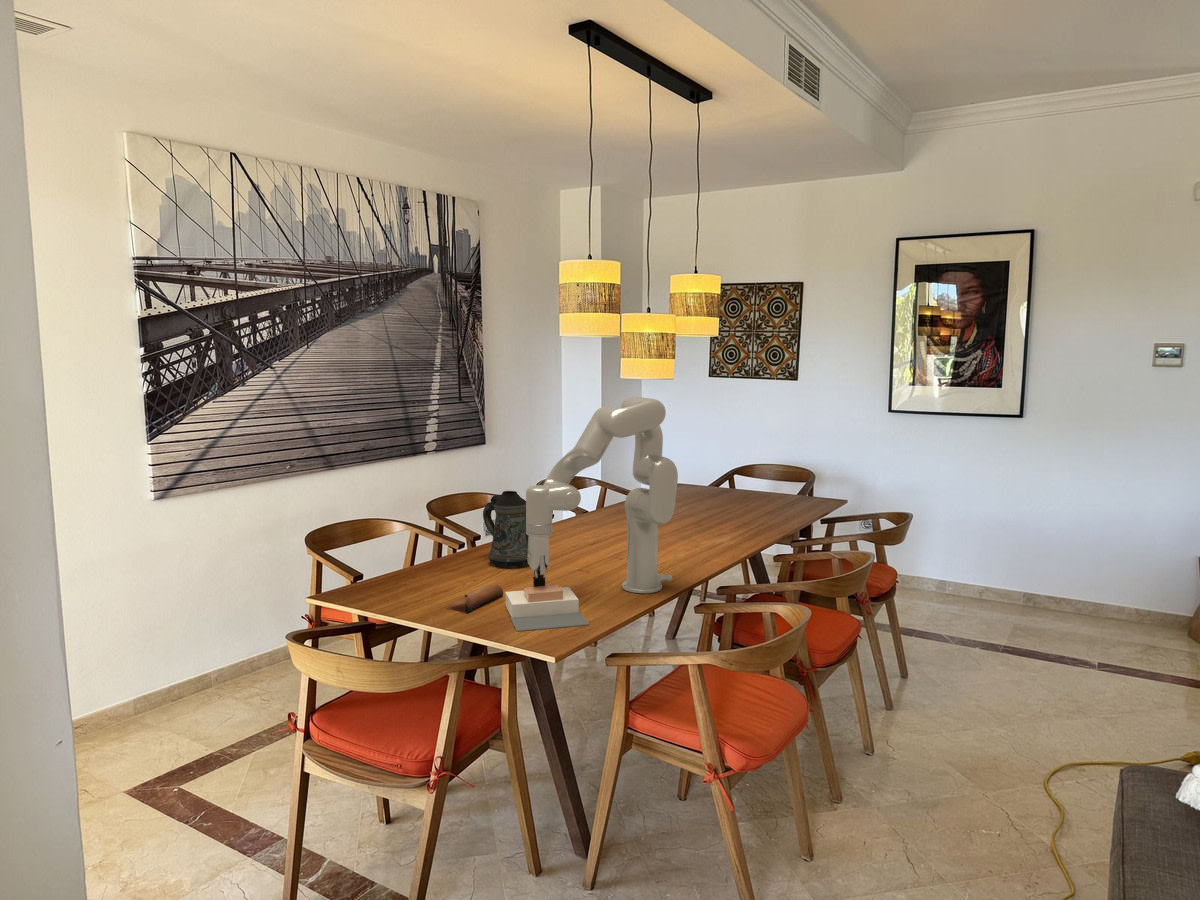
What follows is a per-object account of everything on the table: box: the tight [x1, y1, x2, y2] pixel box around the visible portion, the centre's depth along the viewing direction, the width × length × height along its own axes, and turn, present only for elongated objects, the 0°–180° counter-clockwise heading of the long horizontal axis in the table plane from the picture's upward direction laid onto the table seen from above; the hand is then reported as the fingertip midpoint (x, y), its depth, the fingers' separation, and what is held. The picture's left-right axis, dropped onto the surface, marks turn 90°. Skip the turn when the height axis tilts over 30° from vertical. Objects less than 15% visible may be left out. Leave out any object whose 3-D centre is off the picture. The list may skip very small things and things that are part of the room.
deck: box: [505, 586, 580, 618], centre depth 234 cm, size 19×12×4 cm, turn 105°
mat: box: [510, 611, 591, 633], centre depth 223 cm, size 20×10×1 cm, turn 105°
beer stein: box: [482, 490, 531, 570], centre depth 281 cm, size 16×19×25 cm
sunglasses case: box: [445, 584, 504, 614], centre depth 239 cm, size 18×7×7 cm
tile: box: [523, 584, 563, 602], centre depth 231 cm, size 10×6×2 cm, turn 107°
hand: (539, 590), depth 236 cm, fingers closed
